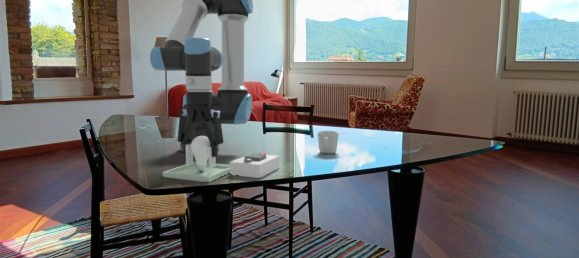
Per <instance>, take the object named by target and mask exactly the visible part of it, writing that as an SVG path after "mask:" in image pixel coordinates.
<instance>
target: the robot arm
mask: <svg viewBox="0 0 579 258" xmlns="http://www.w3.org/2000/svg"><path fill="white" fill-rule="evenodd" d="M181 8H182V9H181V11H180V13H179V15H178V17H177V18H176V21H175V22H174V25H173V26H172V28H171V30H170V32H169V34H168V36H167V38H166V40H165V41H164V44H163V45H162V46H155V47H152V48H151V50H150V52H149V61H150V65H151V67H152V69H153V70H156V71H164V72H168V71H169V72H171V71H172V72H175V71H176V72H177V71H180V72H181V71H182V72H183V71H185V90H186V92H185V94H184V95H183V97H182V98H183V99H182V109H178V112H177V113H178V116H179V120H178V131H177V142H179V151H180V152H182V153H183V155H185V164H186V166H190V165H193V162H194V155H193V153H192V151H191V143H192V141H193V140H194V139H195V138H196V137H198V136H206V137H208V139H209V142H210V146H209V147H208V156H209V157H208V163H209V168H213V167H216V164H217V162H216V161H217V160H216V158H217V157H218V156H219V155H218V154H219V153H218V151H219V149H220V146H219V145H223V144H224V135H223V127H222V125H245V124H247V123H248V121H249V120H250V118H251V114H252V109H253V96H252V94H250V93H249V90H248V88H247V87H246V86H245V23H246V22H247V21H248V20H249V15H250V14H252V13H253V11H254V4H253V0H183V1H182V4H181ZM213 14H214V15H217V19H218V20H219V21H220V22H221V51H220V50H219V49H217V48H216V47H214V46H212V45H211V43H212V42H211V39H210V38H208V37H194V36H195V34H196V33H197V30H198V28H199V25H200V23H201V21H202V20H204V19H205V18H206V17H207V15H213ZM220 68H221V86H219V87H218V88H217V93H214V91H213V90H212V89H213V86H212V85H213V83H212V72H214V71H217V70H219V69H220Z"/></svg>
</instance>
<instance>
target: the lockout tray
mask: <svg viewBox="0 0 579 258" xmlns="http://www.w3.org/2000/svg"><path fill="white" fill-rule="evenodd" d="M196 165H197V163H196V161H193V165H190V166H186V163H185V164H183V165H180V166H177V167H174V168H170V169H168V170H165V171H162V178H166V179H167V178H168V179H175V180H176V179H177V180H185V181H192V182H193V181H194V182H200V183H211V182H213V180H214V181H216V180H217V178H218V179H220V178H219V177H221V176H223V177H225V176H227V175H229V174H228V173H230V164H222V163H216V167H213V168H209V162H207V163H206V170H204V171H202V172H201V171H198V170H197V169H196V167H197V166H196ZM226 174H227V175H226ZM224 175H225V176H224ZM221 178H222V177H221ZM215 179H216V180H215Z"/></svg>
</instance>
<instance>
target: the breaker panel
mask: <svg viewBox="0 0 579 258" xmlns="http://www.w3.org/2000/svg"><path fill="white" fill-rule="evenodd" d="M250 154H251V153H249V154H248V155H250ZM258 154H263V155H266V159H264V160H261V161H252V159H249V158H247V159H244V156H241V157H239V158H236V159H233V160H232V161H229V165H230V174H232V175H231V176H236V175H239V176H238V177H244V178H245V177H248V178H255V179H260V178H263V177H265V176H267V175H268V174H270V173H273V172H274V171H277V170H278V169H280V155H270V154H267V153H266V152H259V153H258Z"/></svg>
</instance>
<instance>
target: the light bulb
mask: <svg viewBox="0 0 579 258" xmlns="http://www.w3.org/2000/svg"><path fill="white" fill-rule="evenodd" d="M209 146H210V142H209V139H208V137H206V136H198V137H196V138H195V139H194V140H193V141H192V143H191V151H192V153H193V158H194V159H195V162H196V163H197V165H196V166H197V167H196V169H197V170H198V171H201V172H202V171H204V170H206V163H208V160H209V156H208V147H209Z"/></svg>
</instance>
